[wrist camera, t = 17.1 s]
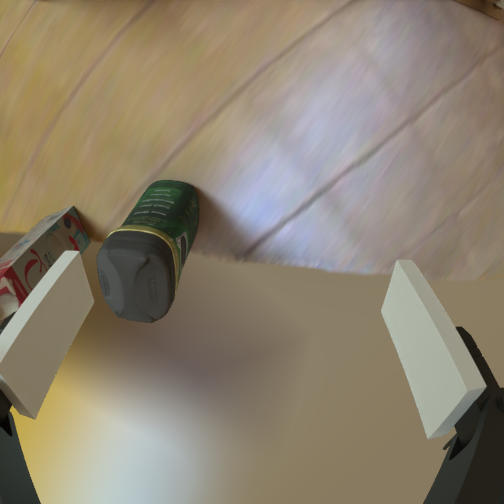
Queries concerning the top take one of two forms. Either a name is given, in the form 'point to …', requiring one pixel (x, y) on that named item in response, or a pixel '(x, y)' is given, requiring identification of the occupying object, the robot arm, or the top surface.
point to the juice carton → (38, 256)
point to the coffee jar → (149, 252)
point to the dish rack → (486, 6)
